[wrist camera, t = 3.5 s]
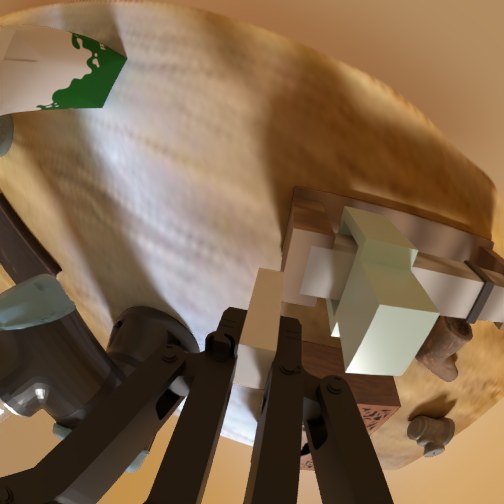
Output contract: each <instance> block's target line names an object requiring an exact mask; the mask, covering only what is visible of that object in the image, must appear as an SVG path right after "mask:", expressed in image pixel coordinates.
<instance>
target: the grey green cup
mask: <svg viewBox="0 0 504 504" xmlns="http://www.w3.org/2000/svg"><path fill="white" fill-rule="evenodd" d="M12 138H13V121H12V117H11V115H10V114H5V115H1V116H0V157H1V156H4V155H5V154H6V153H7V152H8V151H9V149H10V147H11V143H12Z"/></svg>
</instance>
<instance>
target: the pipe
mask: <svg viewBox="0 0 504 504" xmlns="http://www.w3.org/2000/svg"><path fill="white" fill-rule="evenodd" d="M472 337H473V334H472V329H471V326H470V324H469V323H466V322H465V321H464V319H463V318H457V317H448V316H440V318H439V319H438V321H437V322H436V324H435V325H434V326H433V328H432V329H431V331H430V332H429V334H428V336H427V338H426V339H425V341H424V342H423V344H422V346H421V347H420V349H419V350H418V352H417V354H416V355H415V358H416V359H417V360H418V361H420V362H421V363H423V364H424V365H425V366H426V367H427V368H428V369H429V370H431V371H432V372H433V373H434V374H436V375H437V376H438V377H440V378H441V379H443V380H445V381H446V382H451V381H453V380H455V379H456V378H457V376H458V370H457V368H456V365H455V363H454V361H453V359H452V357H451V355H452V354H454V353H455V352H457V351H458V350H459V349H461V348H462V347H463V345H464V344H466V342H469V341H470V340H471V339H472Z"/></svg>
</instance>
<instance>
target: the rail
mask: <svg viewBox="0 0 504 504" xmlns="http://www.w3.org/2000/svg"><path fill="white" fill-rule="evenodd" d="M344 206H347V207H352V208H356V209H360V210H364V211H368V212H372V213H376V214H380V215H384V216H385V217H386V218H387V219H388V220H389V221H390V222H391V223H392V224H393V225H394V226H395V227H396V228H397V229H398V230H399V231H400V232H401V233H402V234H403V235H404V236H405V237H406V238H407V239H408V240H409V241H410V242H411V243H412V244H413V245H414V246H415V247H416V249H417V250H418V252H417V255H416V258H415V261H414V263H413V266H412V268H411V271H412V273H413V274H414V275H415V277H416V278H417V280H418V281H419V282H420V284H421V285H422V287H423V288H424V290H425V291H426V293H427V294H428V295H429V297H430V298H431V300H432V301H433V303H434V304H435V306H436V307H437V309H438V311H439V312H440V316H448V317H457V318H463V319H464V321H465V322H466V323H472V324H475V322H476V320H483V321H493V322H494V323H495V325H496V326H497V327H498V329H499V330H504V259H503V258H502V257H501V256H499V255H498V254H497V253H496V252H494V251H493V250H492V249H493V246H494V242H492V241H491V240H488V239H485V238H483V237H480V236H477V235H475V234H472V233H469V232H466V231H463V230H461V229H458V228H455V227H452V226H449V225H446V224H443V223H440V222H437V221H433V220H430V219H427V218H424V217H420V216H417V215H414V214H410V213H407V212H404V211H400V210H396V209H393V208H389V207H385V206H382V205H378V204H374V203H370V202H366V201H362V200H358V199H354V198H350V197H346V196H341V195H337V194H333V193H328V192H324V191H319V190H314V189H309V188H304V187H299V186H295V189H294V194H293V199H292V205H291V210H290V215H289V220H288V225H287V230H286V235H285V240H284V245H283V250H282V256H281V257H282V264H281V272H284V281H283V292H282V302H287V303H293V304H299V305H304V306H310V307H315V305H316V302H317V299H318V297H321V298H327V299H333V300H339V301H340V300H341V297H342V295H343V292H344V289H345V286H346V283H347V281H348V278H349V275H350V272H351V269H352V266H353V263H354V259H355V256H356V253H357V250H358V247H359V246H358V245H357V243H356V241H355V239H354V237H353V236H349V235H344V234H339V233H338V229H339V225H340V221H341V217H342V213H343V209H344Z"/></svg>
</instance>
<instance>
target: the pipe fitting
mask: <svg viewBox="0 0 504 504" xmlns="http://www.w3.org/2000/svg"><path fill="white" fill-rule="evenodd" d="M454 432H455V424H454V422H453V420H452V419H450V418H446V417H442V418H439V419H437V420H436V419H433V418H429V417H426V416H421V415H420V416H417V417H415V418H414V419H413V420H412V421H411V422H410V424H409V426H408V429H407V435H408V437H409V439H412V440H416V441H417V444H418V445H419V446H423V447H424V457H433V456H436V455H439V454H441V453H442V452H443V451H444V450H445V448H444V446H445V445H447V444H448V443H449V442H450V440H451V439H452V437H453V435H454Z"/></svg>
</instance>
